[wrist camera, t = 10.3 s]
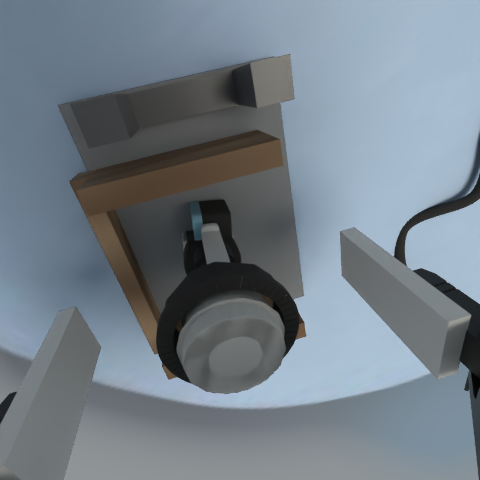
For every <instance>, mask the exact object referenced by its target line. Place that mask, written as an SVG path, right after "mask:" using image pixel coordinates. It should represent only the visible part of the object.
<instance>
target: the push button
mask: <svg viewBox="0 0 480 480" xmlns="http://www.w3.org/2000/svg"><path fill="white" fill-rule="evenodd" d="M189 204H190V213H191V219H192V229H193V230H191V231H186V238H187V241H184V234H183V232H182V240H183V249H184V253H183V257H184V269H185V272H186V274H187V276H186V277H185V279H184V280H183V281H182V282H181V283H180V284H179V286H178V287H177V288H176V289H175V290H174V292H173V293H172V294H171V295H170V296H169V297H168V299H167V300H166V303H165V308H164V309H163V311H162V313H161V315H160V318H159V321H158V325H157V334H156V347H157V351H158V354H159V357H160V359H161V361H162V363H163V364H164V365H165V367H166V368H167V369H168V370H169V371H170V372H171V373H172V374H174V375H175V376H177V377H178V378H180V379H182V380H184V381H186V382H189V383H192V384H193V385H196V386H198V387H199V388H201V389H203V390H205V391H206V392H211V393H223V394H229V393H238V392H240V391H244V390H248V389H250V388H252V387H254V386H256V385H259V384H261V383H262V382H263V381H265V380H267V379H268V378H269V377H270V376H271V375H272V374H273V373H274V372H275V371H276V370H277V369H278V368H279V366H280V365H281V362H282V359H283V358H284V357H285V356H286V354H287V353H288V352H289V350H290V349H291V347H292V346H293V344H294V342H295V339H296V337H297V334H298V330H299V313H298V309H297V306H296V304H295V302H294V300H293V299H292V297H291V295H290V294H289V292H288V291H287V290H286V289H285V287H284V286H283V285H281V284H280V283H279V282H278V281H276V280H275V279H274V278H273V277H272V275H270V274H269V273H267V272H266V271H264V270H263V269H261V268H260V267H258V266H257V265H255V264H247V263H241V254H240V251H239V249H238V246H237V244H236V242H235V240H234V235H233V233H232V222H231V213H230V210H229V208H228V206H227V204H226V202H225V200H211V201H199V202H189ZM264 295H265V296H267V297H268V298H270V299H271V300H272V301H273V307H272V308H271V307H270V306H269V304H268V302H267V300H266V298H265V296H264ZM180 319H181V329H182V330H181V332H179V331H178V329H177V327H176V326H177V324H178V322H179V320H180Z"/></svg>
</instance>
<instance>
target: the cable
mask: <svg viewBox="0 0 480 480" xmlns="http://www.w3.org/2000/svg"><path fill="white" fill-rule="evenodd" d="M479 199H480V174H479V178H478V180H477V183H476V185H475V187H474V189H473V190H472V191H471V193H469V194H468V195H466V196H465V197H462V198H460V199H458V200H455V201H452V202H449V203H446V204H442V205H439V206H436V207H432V208H429V209H426V210H424V211H422V212H420V213H418V214H417V215H415V216H414V217H412V218H411V219H410V220H409V221H408V222H407V223H406V224H405V225H404V227H403V228H402V230H401V231H400V234H399V236H398V239H397V242H396V247H395V258H396V259H397V260H399V261H400V262H401V263H403V264H404V265H405V266H407V265H406V260H405V240H406V235H407V233H408V231H409V230H410V229H411V228H412V227H413V226H414V225H416V224H418V223H420V222H422V221H424V220H427V219H430V218H433V217H436V216H439V215H442V214H446V213H449V212H452V211H456V210H459V209H461V208H464V207H467V206H469V205H471V204H473V203H474V202H476V201H477V200H479Z"/></svg>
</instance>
